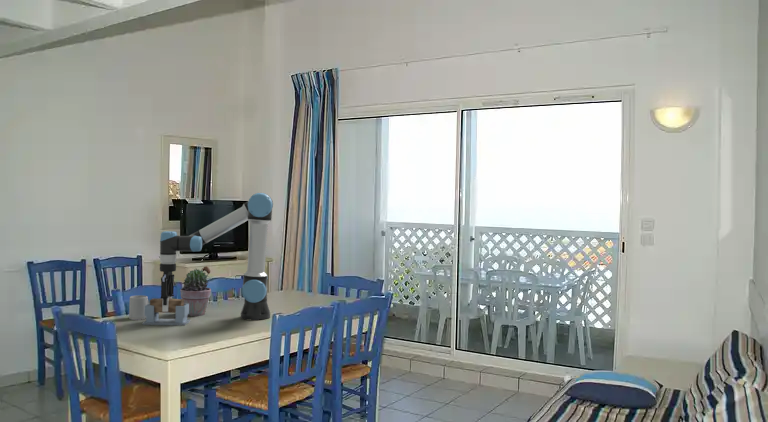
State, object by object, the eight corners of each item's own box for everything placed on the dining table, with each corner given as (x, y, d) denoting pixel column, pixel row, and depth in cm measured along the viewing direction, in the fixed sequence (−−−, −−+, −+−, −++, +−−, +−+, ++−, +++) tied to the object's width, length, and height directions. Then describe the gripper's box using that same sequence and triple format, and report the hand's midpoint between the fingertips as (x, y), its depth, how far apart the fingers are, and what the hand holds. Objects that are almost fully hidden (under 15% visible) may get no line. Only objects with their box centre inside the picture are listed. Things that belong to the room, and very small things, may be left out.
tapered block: (183, 311, 306) (184, 299, 306) (181, 312, 302) (181, 300, 302) (152, 310, 306) (153, 298, 306) (149, 312, 301) (150, 299, 301)
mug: (140, 320, 308) (140, 298, 308) (125, 319, 310) (125, 297, 310) (154, 316, 320) (155, 294, 320) (140, 315, 322) (140, 293, 322)
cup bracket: (190, 321, 309) (190, 303, 309) (184, 325, 299) (184, 306, 299) (149, 320, 308) (149, 302, 308) (142, 324, 298) (142, 306, 298)
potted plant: (167, 315, 321) (168, 267, 321) (192, 310, 339) (193, 264, 339) (195, 319, 315) (196, 270, 314) (219, 313, 333) (220, 266, 332)
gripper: (165, 261, 312) (164, 307, 312) (154, 264, 294) (153, 313, 295) (181, 261, 312) (180, 307, 313) (170, 265, 295) (169, 314, 295)
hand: (167, 310), depth 304 cm, fingers closed on tapered block, 4 cm apart
